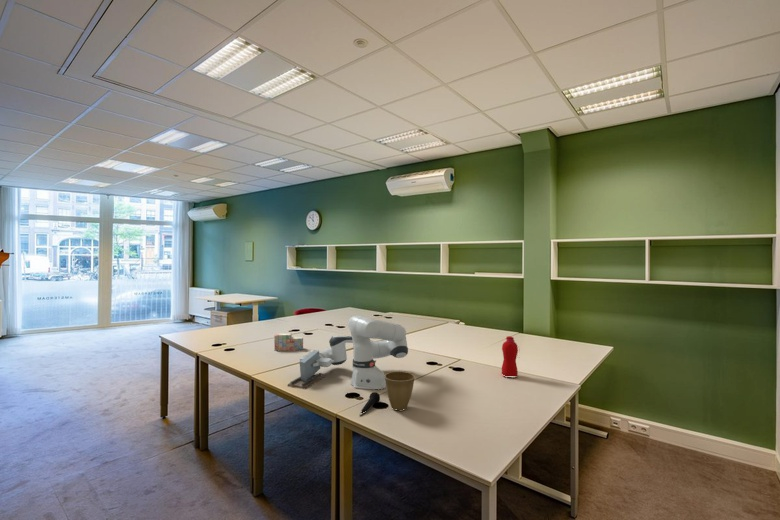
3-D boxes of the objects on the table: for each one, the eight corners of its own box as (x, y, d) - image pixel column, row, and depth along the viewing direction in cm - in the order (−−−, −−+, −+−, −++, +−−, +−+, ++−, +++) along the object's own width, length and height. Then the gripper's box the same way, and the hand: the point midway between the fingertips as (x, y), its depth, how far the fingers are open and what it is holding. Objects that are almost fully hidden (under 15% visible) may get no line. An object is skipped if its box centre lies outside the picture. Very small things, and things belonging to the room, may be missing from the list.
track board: (323, 377, 224) (323, 373, 224) (305, 388, 205) (305, 384, 205) (306, 375, 228) (306, 371, 228) (287, 385, 209) (287, 381, 209)
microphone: (363, 423, 172) (380, 402, 190) (366, 413, 170) (382, 392, 189) (353, 417, 173) (370, 397, 192) (356, 407, 172) (373, 388, 190)
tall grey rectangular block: (320, 368, 229) (319, 350, 226) (306, 381, 214) (304, 362, 212) (315, 367, 230) (314, 349, 228) (301, 380, 215) (299, 361, 213)
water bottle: (521, 379, 225) (521, 338, 224) (502, 378, 227) (503, 337, 226) (518, 374, 234) (519, 335, 233) (501, 373, 236) (501, 334, 235)
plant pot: (418, 412, 177) (419, 379, 176) (389, 415, 172) (389, 382, 172) (408, 400, 191) (408, 369, 190) (380, 403, 186) (381, 372, 186)
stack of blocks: (303, 348, 292) (303, 332, 292) (302, 350, 286) (302, 334, 286) (275, 348, 290) (275, 333, 290) (274, 350, 284) (274, 335, 283)
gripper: (335, 365, 229) (323, 372, 216) (307, 362, 236) (294, 368, 223) (335, 355, 229) (324, 361, 216) (307, 352, 236) (294, 357, 223)
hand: (308, 365), depth 219 cm, fingers closed on tall grey rectangular block, 3 cm apart
